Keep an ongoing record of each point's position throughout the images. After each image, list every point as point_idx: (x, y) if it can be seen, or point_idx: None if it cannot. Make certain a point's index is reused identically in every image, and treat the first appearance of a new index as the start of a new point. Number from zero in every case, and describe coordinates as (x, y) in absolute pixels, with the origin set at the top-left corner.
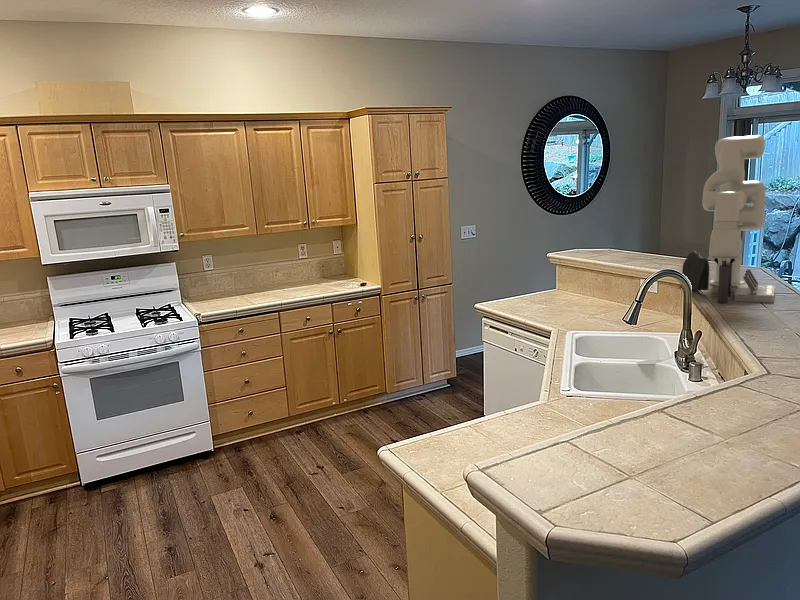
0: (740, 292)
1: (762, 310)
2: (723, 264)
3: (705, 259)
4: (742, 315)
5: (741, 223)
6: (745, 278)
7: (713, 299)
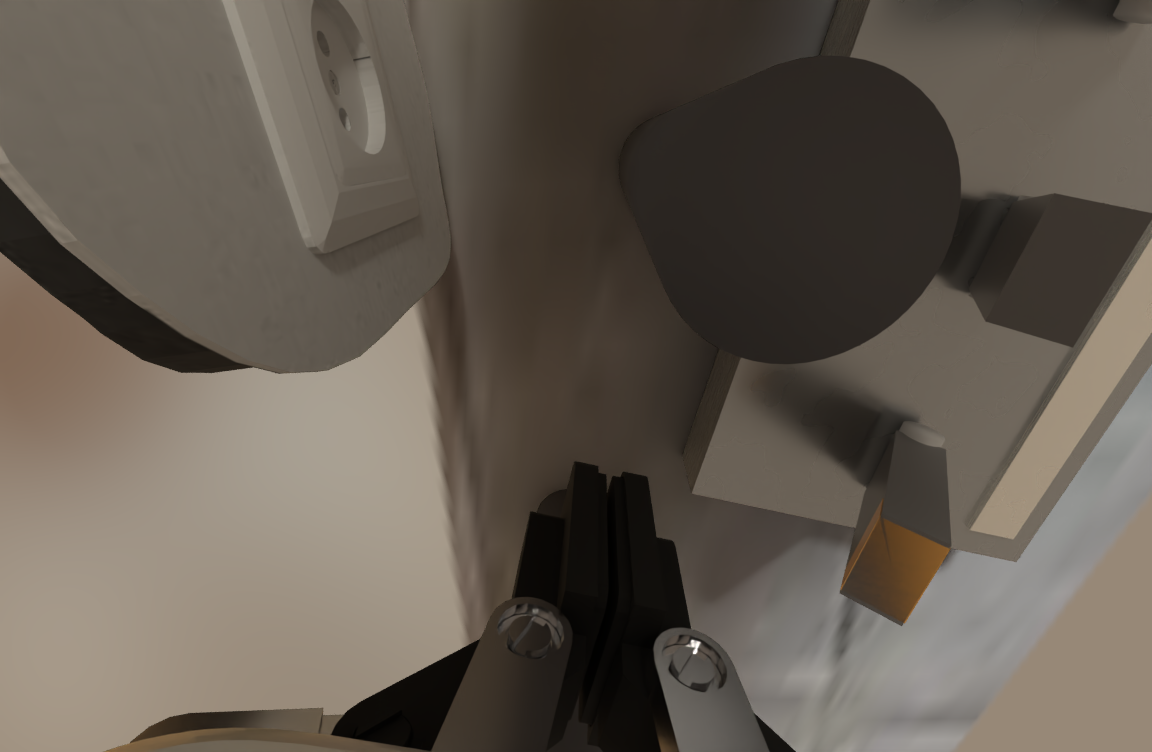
0: (772, 409)
1: (783, 721)
2: (575, 688)
3: (16, 244)
4: None
5: None
6: (865, 590)
7: (513, 394)
